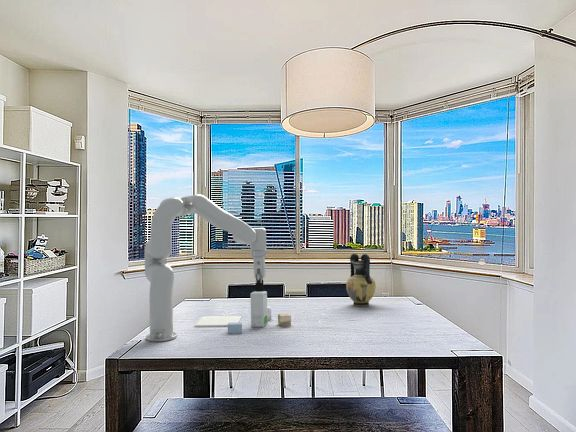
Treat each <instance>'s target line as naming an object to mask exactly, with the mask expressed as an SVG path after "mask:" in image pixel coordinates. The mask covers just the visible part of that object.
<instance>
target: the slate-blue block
mask: <svg viewBox="0 0 576 432" xmlns="http://www.w3.org/2000/svg"><path fill="white" fill-rule="evenodd" d="M242 331H243V323H242V321H240V322H230V323H228V326H227V334H242Z"/></svg>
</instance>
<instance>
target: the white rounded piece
mask: <svg viewBox="0 0 576 432" xmlns="http://www.w3.org/2000/svg"><path fill="white" fill-rule="evenodd" d="M267 319H268V321H271V320H272V307H271V306H269V305H267Z"/></svg>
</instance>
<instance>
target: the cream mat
mask: <svg viewBox="0 0 576 432" xmlns="http://www.w3.org/2000/svg"><path fill="white" fill-rule="evenodd" d="M241 319H242V315H220V316H219V315H217V316H216V315H214V316H213V315H211V316H210V315H209V316H206V315H205V316H204V315H203V316H201V317H200V318H199V320H197V322H196V323H195V324H194V328H200V327H201V328H203V327H204V328H206V327H207V328H213V327H214V328H215V327H219V328H220V327H222V328H223V327H224V326H225V327H226V328H227V327H228V323H230V322H241ZM225 327H224V328H225Z"/></svg>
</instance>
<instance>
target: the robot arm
mask: <svg viewBox="0 0 576 432" xmlns="http://www.w3.org/2000/svg"><path fill="white" fill-rule="evenodd" d="M194 214H196V215H197V216H199V218H202V219H203V220H204V221H206V222H208V224H210V225H212V226H213V227H215V228H217V229H220V230H223V231H225V232H228V233H230V234H231V235H232V239H233V241H234V242H235V243H237V244H238V245H239V244H240V245H250V257H251V258H253V262H252V263H253V274H254V276H253V277H254V279H255V283H254V284H255V292H262V291H264V279H265V278H266V257H267V255H268V254H267V231H266V228H265V227H252V226H250V225H249V224H247V223H246V222H245V221H243V220H242V219H240V218H238V217H236V216H234V215H233V214H231V213H230V212H228V211H226V210H224V209H223V208H221V207H220V206H218V205H217V204H216V203H215V202H213V201H212V200H210V199H209V198H207V197H206V196H205V195H203V194H192V195H188V196H187V195H186V196H182V197H181V196H179V197H176V196H172V197H169V198H165V199H163V200H162V201H161V202H160V203H159V206H158V207H157V208H156V210H155V211H154V213H153V214H152V217H151V223H150V239H148V241H146V244H145V247H144V275H145V277H146V279H147V281H149V282H150V284H149V285H150V286H149V298H148V299H149V334H147V335H146V336H145V340H146V341H148V342H166V341H167V342H168V341H171V340H174V339H176V338H177V337H178V334H177V333H176V332H174V284H175V283H174V282H175V274H174V269H173V268H172V266H171V265H170V264H168V263H167V259H168V258H169V257H170V256H171V255H172V248H173V246H172V244H173V243H172V232H173V231H172V227H173V224H174V223H173V222H174V221H175V219H176V218H177V217H181V216H188V215H194Z"/></svg>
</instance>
